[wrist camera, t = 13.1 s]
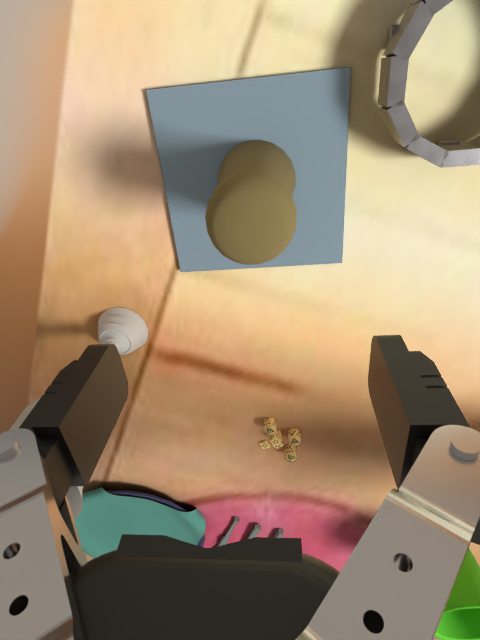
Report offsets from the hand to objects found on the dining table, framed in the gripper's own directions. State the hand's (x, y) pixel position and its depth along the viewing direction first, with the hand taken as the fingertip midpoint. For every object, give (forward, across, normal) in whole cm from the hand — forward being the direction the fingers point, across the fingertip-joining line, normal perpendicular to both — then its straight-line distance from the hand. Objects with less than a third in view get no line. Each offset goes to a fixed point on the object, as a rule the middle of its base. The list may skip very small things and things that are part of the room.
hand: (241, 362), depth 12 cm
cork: (+22, 0, -1) cm, 22 cm away
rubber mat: (+22, +1, -1) cm, 22 cm away
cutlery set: (+23, +16, +48) cm, 56 cm away
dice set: (+23, -1, +28) cm, 36 cm away
